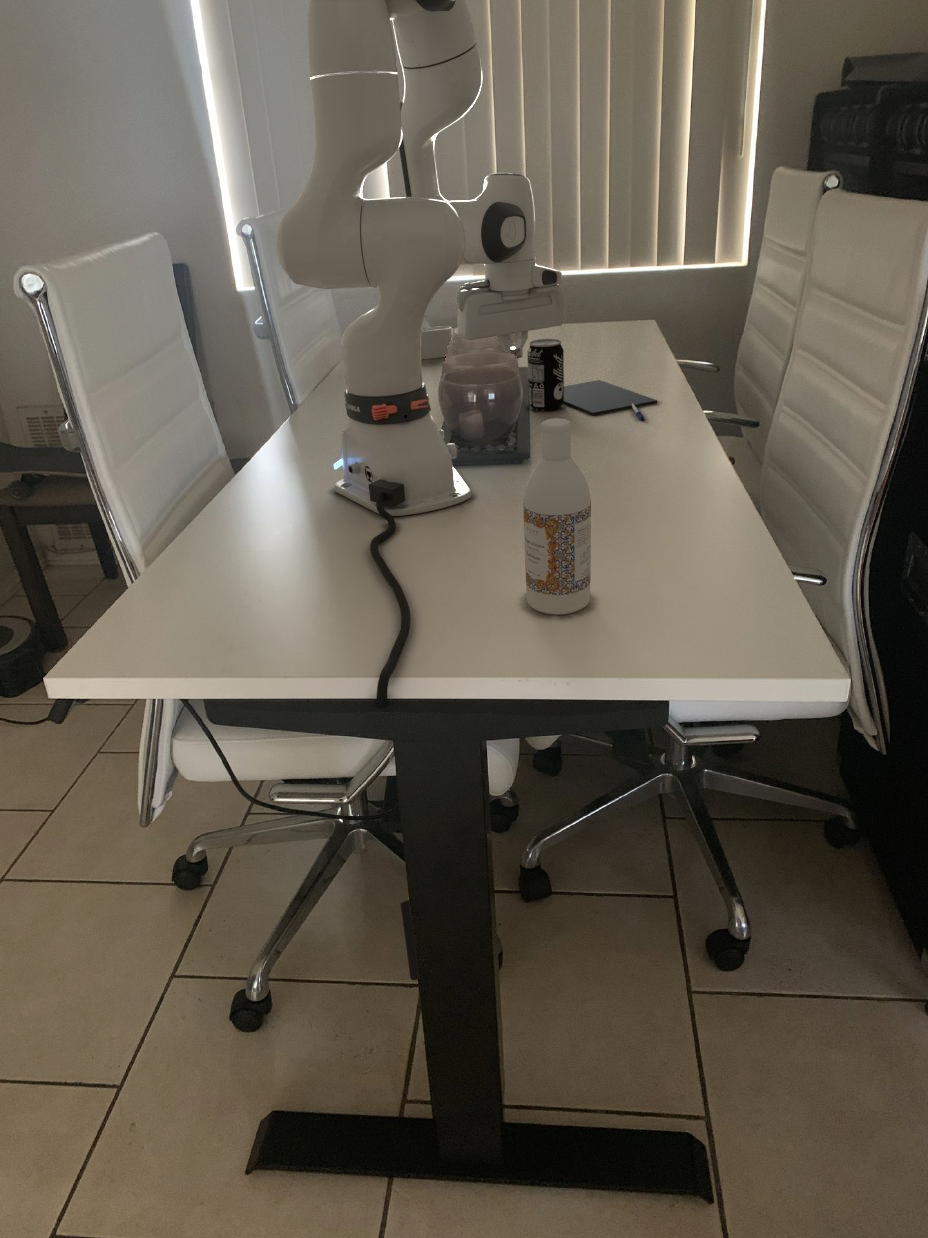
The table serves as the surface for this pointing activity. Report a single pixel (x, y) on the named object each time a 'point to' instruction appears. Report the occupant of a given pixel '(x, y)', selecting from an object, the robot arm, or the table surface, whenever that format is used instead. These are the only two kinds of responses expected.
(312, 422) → the table surface
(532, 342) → the beverage can
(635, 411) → the ballpoint pen
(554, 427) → the bath foam
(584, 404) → the mat
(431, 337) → the phone holder
